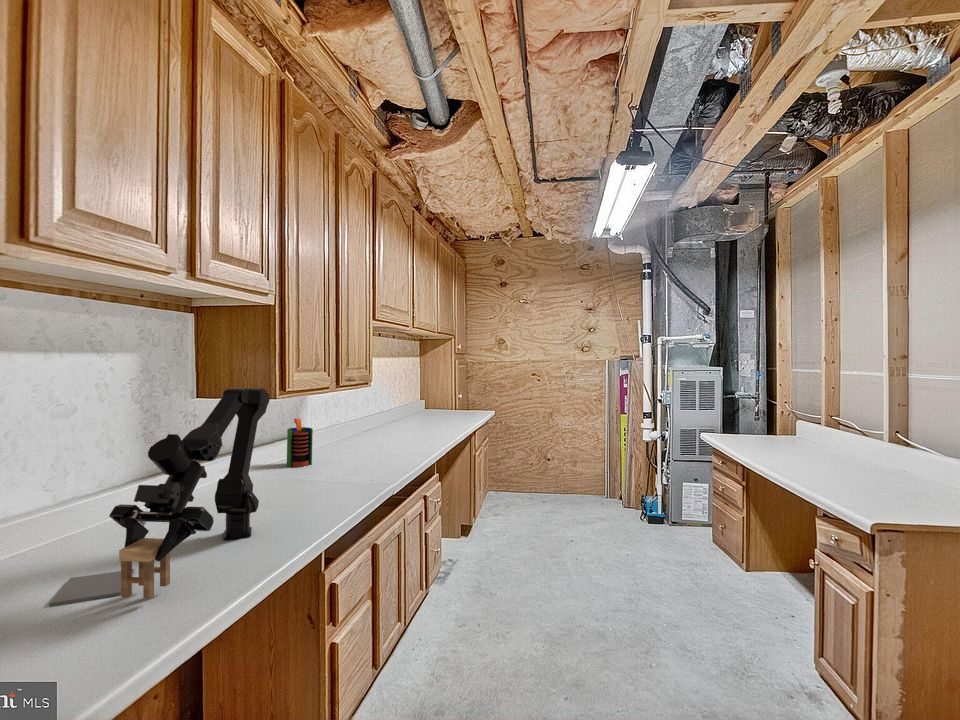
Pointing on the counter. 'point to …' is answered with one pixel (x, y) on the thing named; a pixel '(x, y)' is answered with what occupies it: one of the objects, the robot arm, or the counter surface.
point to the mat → (89, 588)
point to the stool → (143, 566)
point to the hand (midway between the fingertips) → (140, 559)
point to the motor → (299, 445)
